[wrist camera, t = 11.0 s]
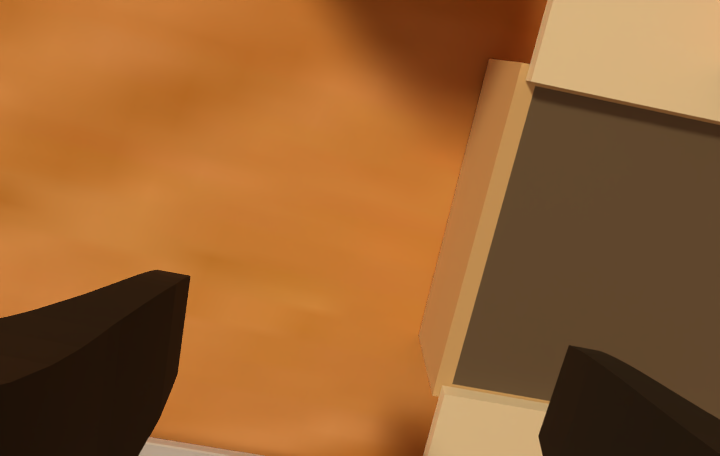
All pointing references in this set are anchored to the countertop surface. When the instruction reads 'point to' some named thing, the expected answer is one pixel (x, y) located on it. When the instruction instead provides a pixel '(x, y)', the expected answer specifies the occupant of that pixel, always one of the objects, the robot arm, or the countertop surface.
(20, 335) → the robot arm
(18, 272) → the countertop surface
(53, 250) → the countertop surface
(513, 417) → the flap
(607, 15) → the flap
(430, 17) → the countertop surface
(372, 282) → the countertop surface
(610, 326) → the carton
